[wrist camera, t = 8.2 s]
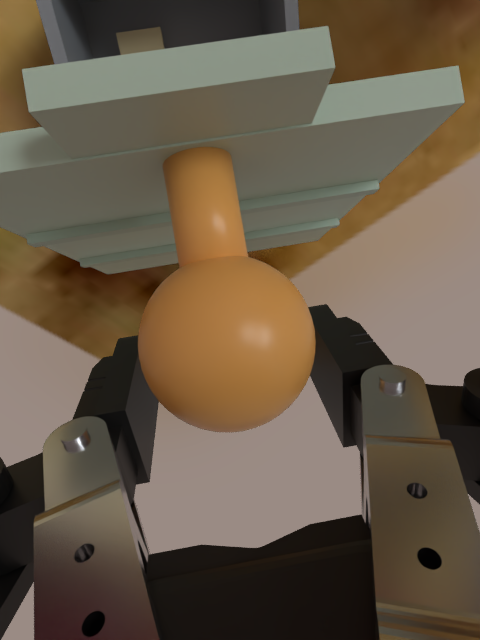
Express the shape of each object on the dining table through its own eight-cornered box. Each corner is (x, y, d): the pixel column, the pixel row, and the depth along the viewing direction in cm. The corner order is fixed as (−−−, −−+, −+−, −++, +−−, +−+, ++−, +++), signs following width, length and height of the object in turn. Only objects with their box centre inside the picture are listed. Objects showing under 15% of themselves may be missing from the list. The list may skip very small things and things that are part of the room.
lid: (520, -5, 7) (594, 409, 7) (315, 226, 22) (336, 351, 22) (-191, 96, 6) (-121, 539, 6) (105, 259, 22) (126, 387, 22)
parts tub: (264, -33, 22) (293, -90, 16) (284, 211, 29) (310, 237, 22) (68, -6, 22) (19, -55, 16) (131, 235, 28) (114, 268, 22)
